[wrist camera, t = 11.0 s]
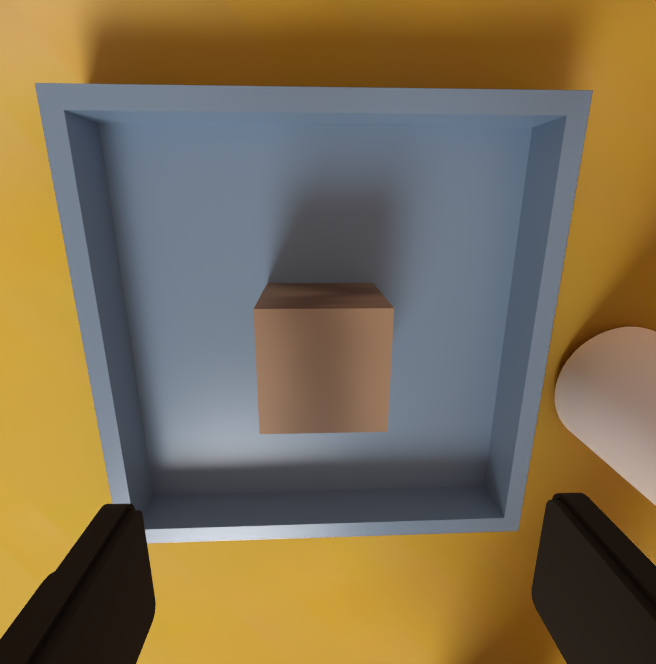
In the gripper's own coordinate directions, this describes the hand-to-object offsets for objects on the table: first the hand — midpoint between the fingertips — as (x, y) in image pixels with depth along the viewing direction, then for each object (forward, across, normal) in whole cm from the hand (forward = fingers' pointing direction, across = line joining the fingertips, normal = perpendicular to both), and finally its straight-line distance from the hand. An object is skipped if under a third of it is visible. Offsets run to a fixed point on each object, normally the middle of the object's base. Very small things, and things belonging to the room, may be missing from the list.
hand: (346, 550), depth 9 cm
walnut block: (+15, 0, -1) cm, 15 cm away
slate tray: (+16, 0, -1) cm, 16 cm away
